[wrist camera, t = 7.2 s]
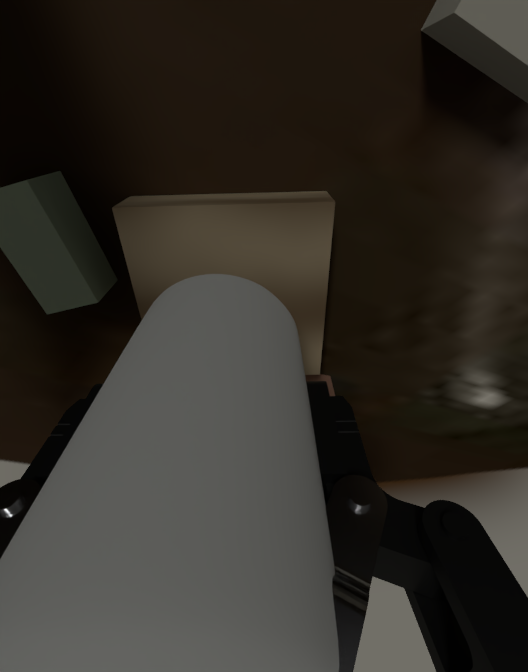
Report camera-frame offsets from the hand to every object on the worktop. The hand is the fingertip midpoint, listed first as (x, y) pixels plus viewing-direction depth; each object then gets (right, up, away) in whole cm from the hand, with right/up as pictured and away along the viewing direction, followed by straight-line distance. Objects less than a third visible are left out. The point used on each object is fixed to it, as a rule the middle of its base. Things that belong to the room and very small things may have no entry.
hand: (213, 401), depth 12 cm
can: (0, +2, +3) cm, 3 cm away
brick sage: (-9, +8, +7) cm, 14 cm away
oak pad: (0, +5, +8) cm, 10 cm away
